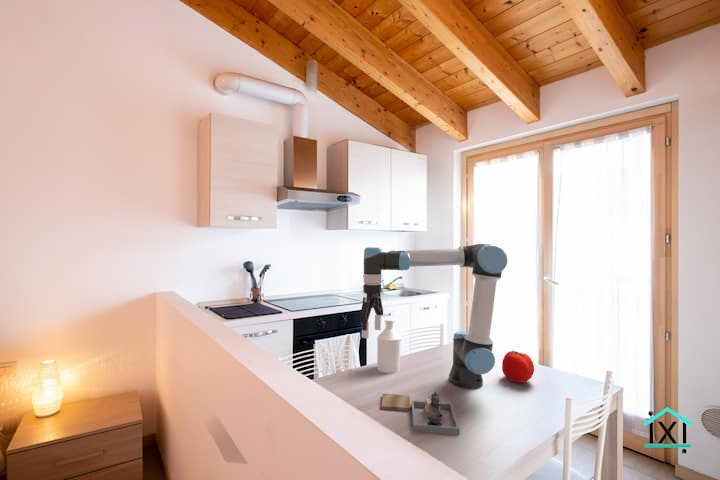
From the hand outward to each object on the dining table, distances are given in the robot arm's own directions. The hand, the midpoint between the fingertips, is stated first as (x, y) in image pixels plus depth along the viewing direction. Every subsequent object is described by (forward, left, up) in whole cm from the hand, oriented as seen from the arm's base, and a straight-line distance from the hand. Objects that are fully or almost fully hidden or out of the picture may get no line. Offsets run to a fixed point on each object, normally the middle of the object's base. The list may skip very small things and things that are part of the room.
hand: (371, 333), depth 151 cm
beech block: (-25, +12, -26) cm, 38 cm away
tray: (-25, +17, -26) cm, 40 cm away
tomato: (-68, -24, -26) cm, 76 cm away
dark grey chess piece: (-25, +21, -26) cm, 42 cm away
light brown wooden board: (-11, +7, -26) cm, 29 cm away
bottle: (-7, -30, -26) cm, 40 cm away
